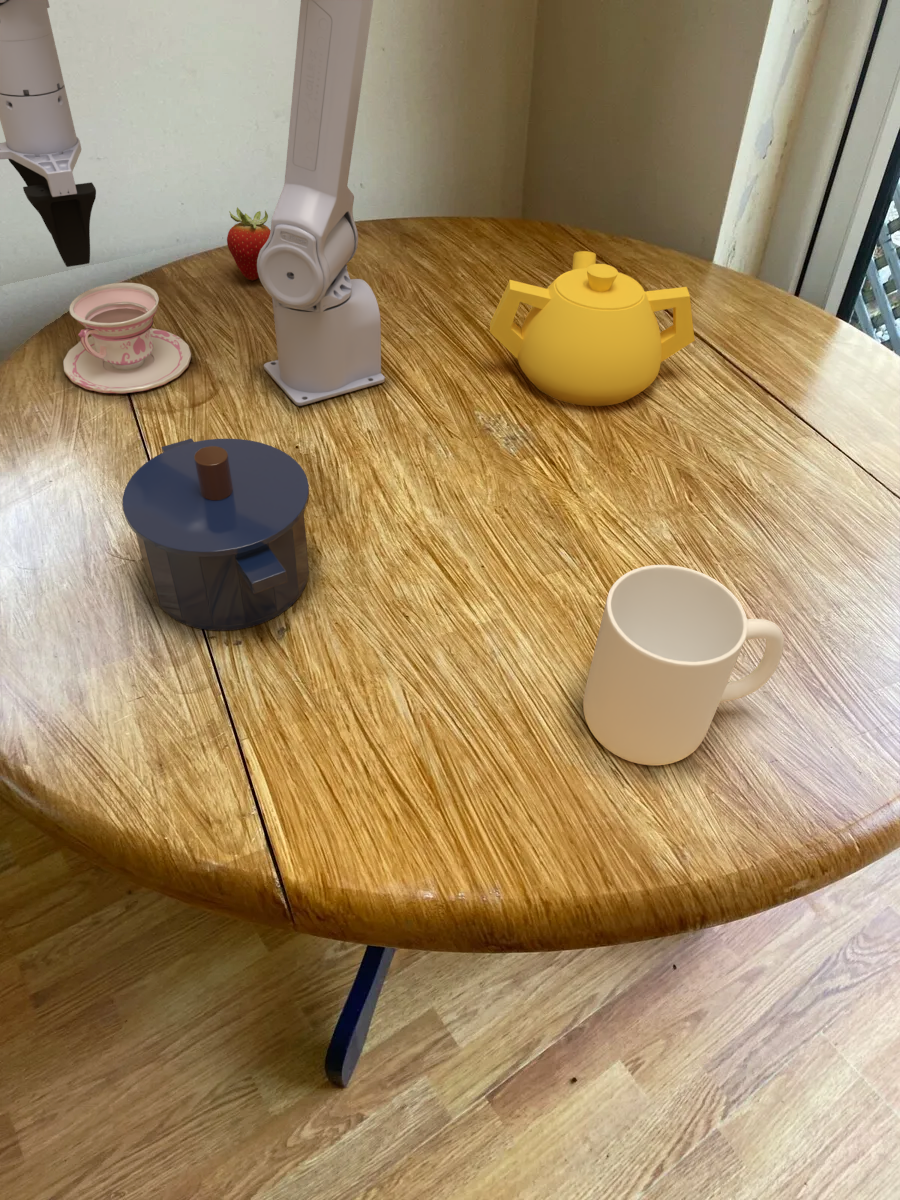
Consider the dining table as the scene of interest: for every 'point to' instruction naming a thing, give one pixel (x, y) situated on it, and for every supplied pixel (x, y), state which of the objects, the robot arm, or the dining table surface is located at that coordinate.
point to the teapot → (592, 332)
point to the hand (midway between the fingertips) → (68, 246)
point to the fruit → (247, 242)
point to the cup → (669, 662)
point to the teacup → (122, 341)
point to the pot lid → (215, 497)
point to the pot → (229, 580)
